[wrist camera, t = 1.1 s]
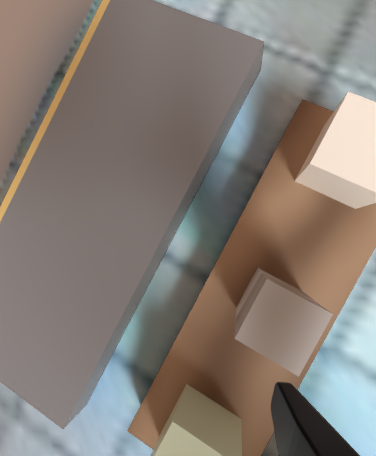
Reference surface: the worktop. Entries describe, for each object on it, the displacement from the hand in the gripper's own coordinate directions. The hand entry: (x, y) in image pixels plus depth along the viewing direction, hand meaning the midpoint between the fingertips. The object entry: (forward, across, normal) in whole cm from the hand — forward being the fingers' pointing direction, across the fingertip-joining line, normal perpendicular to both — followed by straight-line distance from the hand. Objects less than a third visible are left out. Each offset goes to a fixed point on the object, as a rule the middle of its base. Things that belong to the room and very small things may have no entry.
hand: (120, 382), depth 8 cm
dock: (+16, +5, -1) cm, 17 cm away
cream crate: (+12, -11, -6) cm, 17 cm away
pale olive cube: (+7, -4, +11) cm, 14 cm away
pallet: (+12, -8, +4) cm, 15 cm away
